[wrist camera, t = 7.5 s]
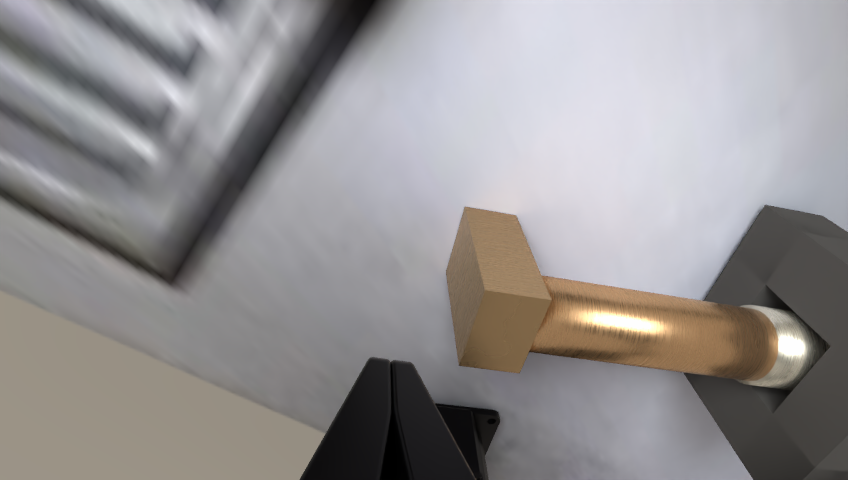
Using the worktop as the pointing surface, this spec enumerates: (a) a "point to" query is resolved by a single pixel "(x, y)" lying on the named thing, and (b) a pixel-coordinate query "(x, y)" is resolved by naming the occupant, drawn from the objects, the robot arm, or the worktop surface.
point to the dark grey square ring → (827, 380)
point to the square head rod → (607, 318)
